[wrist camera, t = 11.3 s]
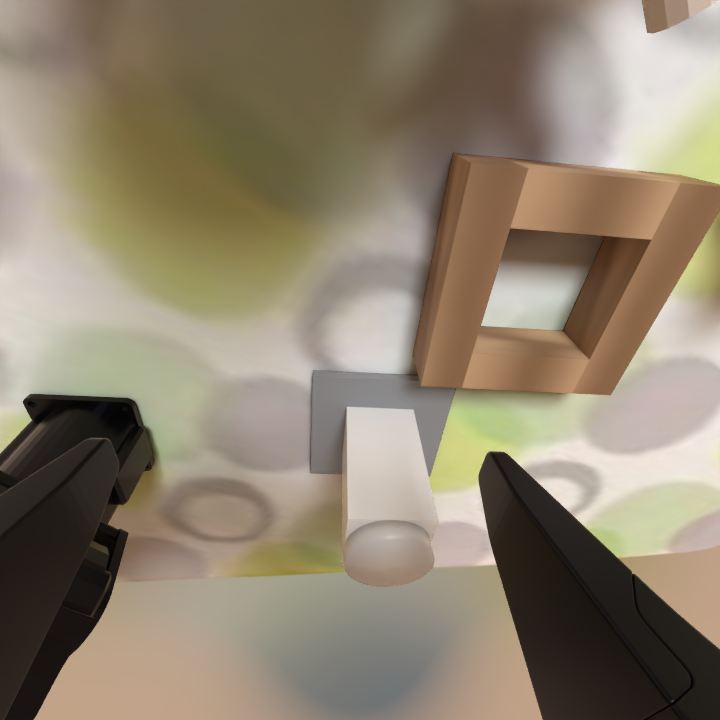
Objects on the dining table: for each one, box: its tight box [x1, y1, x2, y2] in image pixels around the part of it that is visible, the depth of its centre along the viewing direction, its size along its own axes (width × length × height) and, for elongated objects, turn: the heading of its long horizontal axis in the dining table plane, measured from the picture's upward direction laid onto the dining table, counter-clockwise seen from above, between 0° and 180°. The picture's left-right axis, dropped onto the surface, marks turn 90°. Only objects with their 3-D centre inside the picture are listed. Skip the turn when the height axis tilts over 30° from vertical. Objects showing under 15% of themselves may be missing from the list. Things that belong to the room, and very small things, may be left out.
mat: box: [311, 370, 456, 477], centre depth 27 cm, size 9×9×1 cm
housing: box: [413, 153, 720, 395], centre depth 20 cm, size 11×11×3 cm
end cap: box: [342, 407, 438, 587], centre depth 23 cm, size 4×4×9 cm
